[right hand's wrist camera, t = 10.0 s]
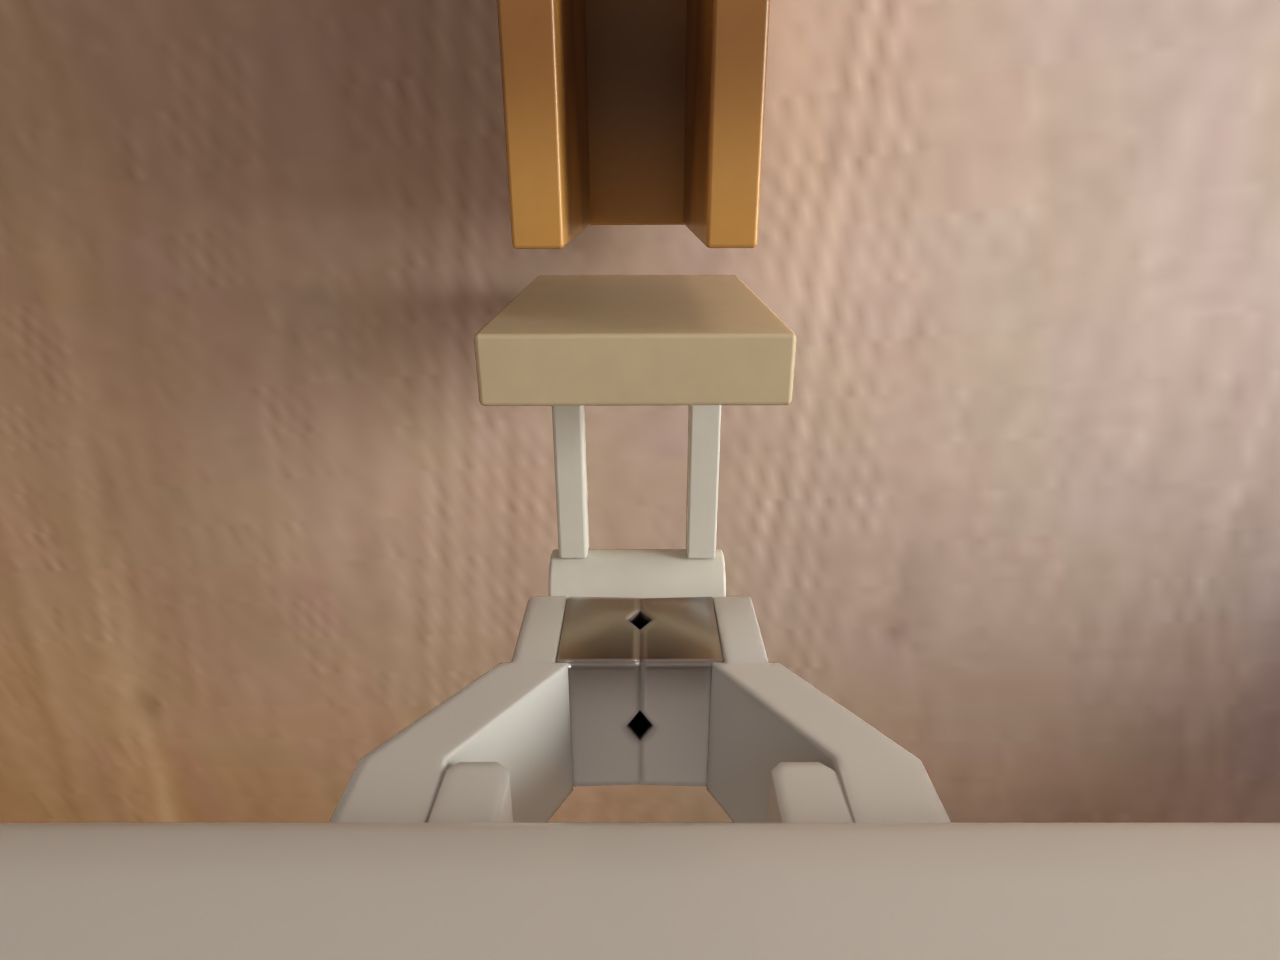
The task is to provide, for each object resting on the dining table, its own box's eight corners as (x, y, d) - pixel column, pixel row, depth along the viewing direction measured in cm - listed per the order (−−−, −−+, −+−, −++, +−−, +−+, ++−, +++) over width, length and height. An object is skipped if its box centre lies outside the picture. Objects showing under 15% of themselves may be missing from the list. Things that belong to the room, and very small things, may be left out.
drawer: (727, 510, 22) (771, 682, 14) (549, 510, 22) (502, 682, 14) (780, -708, 13) (960, -1867, 6) (487, -705, 13) (285, -1860, 6)
